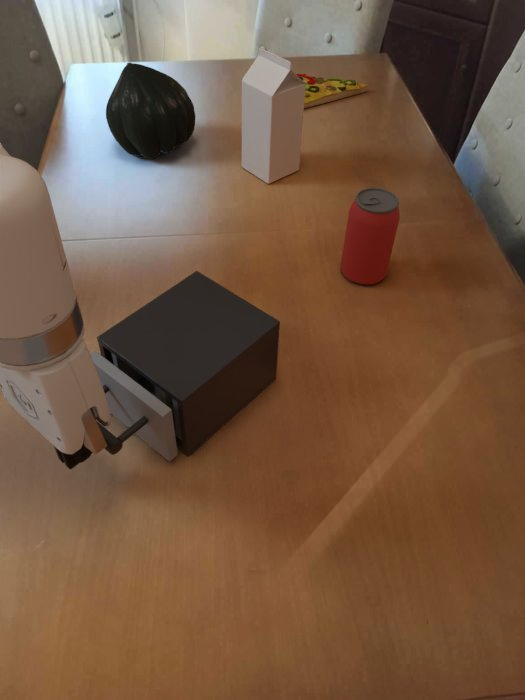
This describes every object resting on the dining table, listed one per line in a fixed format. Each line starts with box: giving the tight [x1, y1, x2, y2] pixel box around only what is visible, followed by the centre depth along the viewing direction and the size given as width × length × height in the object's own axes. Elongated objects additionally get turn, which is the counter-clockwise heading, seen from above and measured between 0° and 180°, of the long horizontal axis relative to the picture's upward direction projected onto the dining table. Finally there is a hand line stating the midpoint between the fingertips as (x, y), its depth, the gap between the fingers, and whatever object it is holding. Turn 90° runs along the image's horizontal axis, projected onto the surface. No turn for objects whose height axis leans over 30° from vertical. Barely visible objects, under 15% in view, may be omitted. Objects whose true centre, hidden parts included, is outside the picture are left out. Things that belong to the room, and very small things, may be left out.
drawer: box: [90, 350, 182, 462], centre depth 64 cm, size 18×11×8 cm, turn 139°
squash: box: [105, 62, 196, 160], centre depth 103 cm, size 14×15×15 cm
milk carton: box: [241, 47, 306, 185], centre depth 96 cm, size 7×7×19 cm
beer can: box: [340, 187, 401, 286], centre depth 81 cm, size 7×7×12 cm
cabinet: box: [96, 270, 281, 458], centre depth 66 cm, size 15×13×10 cm
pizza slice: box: [295, 73, 369, 109], centre depth 123 cm, size 16×21×3 cm
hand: (78, 455), depth 59 cm, fingers closed
